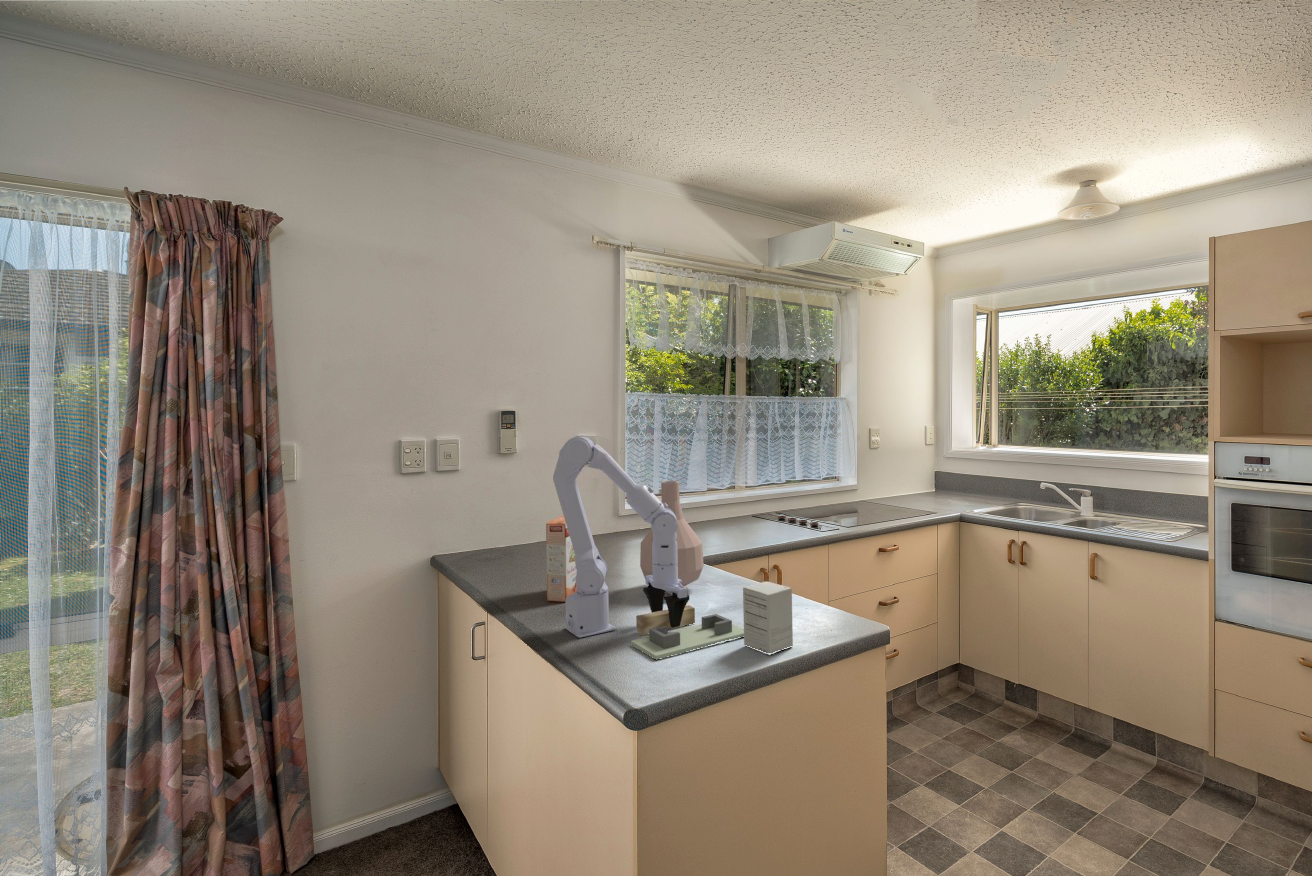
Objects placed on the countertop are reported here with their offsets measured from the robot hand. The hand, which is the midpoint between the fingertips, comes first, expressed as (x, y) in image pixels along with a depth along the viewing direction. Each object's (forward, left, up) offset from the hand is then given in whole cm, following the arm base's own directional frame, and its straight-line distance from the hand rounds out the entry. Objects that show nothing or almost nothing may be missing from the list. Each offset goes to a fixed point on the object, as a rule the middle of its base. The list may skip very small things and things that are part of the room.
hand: (666, 621), depth 144 cm
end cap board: (0, -10, -1) cm, 10 cm away
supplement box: (+11, -22, -2) cm, 25 cm away
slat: (0, 0, -2) cm, 2 cm away
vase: (+18, +25, -2) cm, 31 cm away
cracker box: (-8, +38, -2) cm, 39 cm away
